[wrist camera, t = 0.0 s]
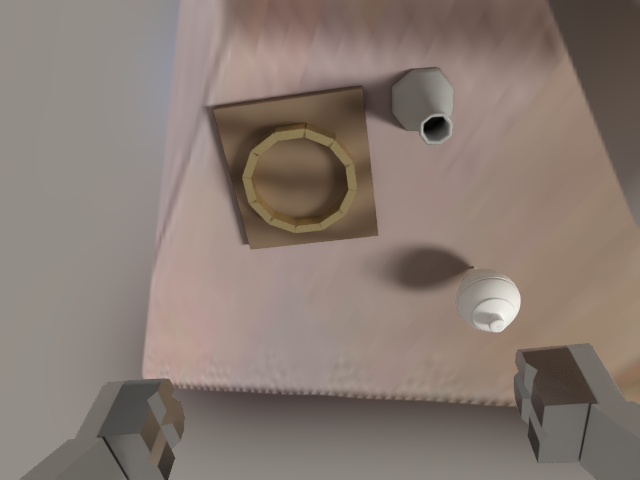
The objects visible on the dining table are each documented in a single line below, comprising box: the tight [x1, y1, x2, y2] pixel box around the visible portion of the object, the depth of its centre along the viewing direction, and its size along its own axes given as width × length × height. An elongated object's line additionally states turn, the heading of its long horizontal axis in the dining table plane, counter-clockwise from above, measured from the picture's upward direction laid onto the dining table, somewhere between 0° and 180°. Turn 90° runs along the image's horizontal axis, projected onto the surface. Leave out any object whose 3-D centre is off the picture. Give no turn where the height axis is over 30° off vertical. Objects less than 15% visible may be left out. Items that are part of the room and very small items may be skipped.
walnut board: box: [213, 86, 378, 249], centre depth 61 cm, size 19×17×1 cm
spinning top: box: [456, 267, 520, 332], centre depth 62 cm, size 8×8×12 cm
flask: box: [391, 68, 454, 145], centre depth 52 cm, size 7×7×10 cm
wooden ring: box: [242, 123, 357, 233], centre depth 59 cm, size 13×13×2 cm
